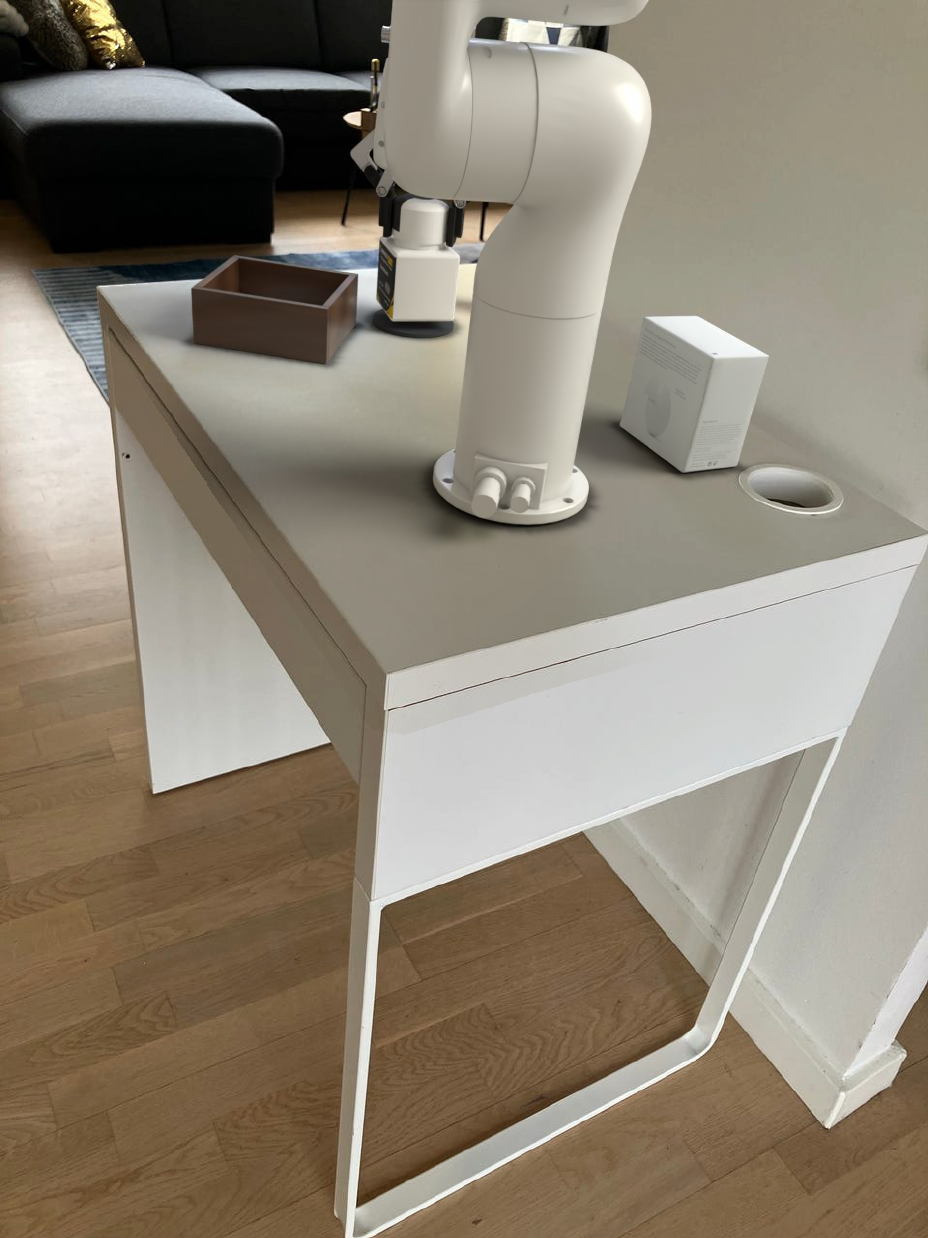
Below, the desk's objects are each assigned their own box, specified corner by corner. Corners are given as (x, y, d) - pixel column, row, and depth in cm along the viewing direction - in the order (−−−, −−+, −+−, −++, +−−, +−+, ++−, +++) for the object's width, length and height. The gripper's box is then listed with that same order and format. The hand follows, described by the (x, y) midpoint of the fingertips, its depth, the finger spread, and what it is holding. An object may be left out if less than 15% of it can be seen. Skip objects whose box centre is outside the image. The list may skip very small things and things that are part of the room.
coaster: (446, 342, 110) (446, 339, 110) (364, 329, 111) (364, 326, 110) (459, 317, 118) (459, 313, 117) (382, 305, 118) (382, 301, 118)
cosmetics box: (740, 467, 92) (773, 353, 86) (682, 475, 89) (711, 358, 83) (673, 419, 99) (698, 311, 93) (617, 425, 97) (640, 315, 91)
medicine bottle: (375, 300, 115) (381, 186, 108) (436, 300, 117) (446, 189, 110) (390, 322, 109) (398, 204, 103) (454, 322, 112) (466, 206, 105)
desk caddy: (326, 364, 101) (327, 309, 98) (193, 343, 102) (190, 287, 99) (356, 324, 112) (358, 273, 109) (235, 305, 113) (234, 254, 110)
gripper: (337, 37, 96) (331, 235, 106) (519, 62, 95) (495, 260, 105) (356, 31, 102) (348, 219, 113) (527, 55, 101) (504, 242, 111)
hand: (419, 237), depth 109 cm, fingers closed on medicine bottle, 6 cm apart
